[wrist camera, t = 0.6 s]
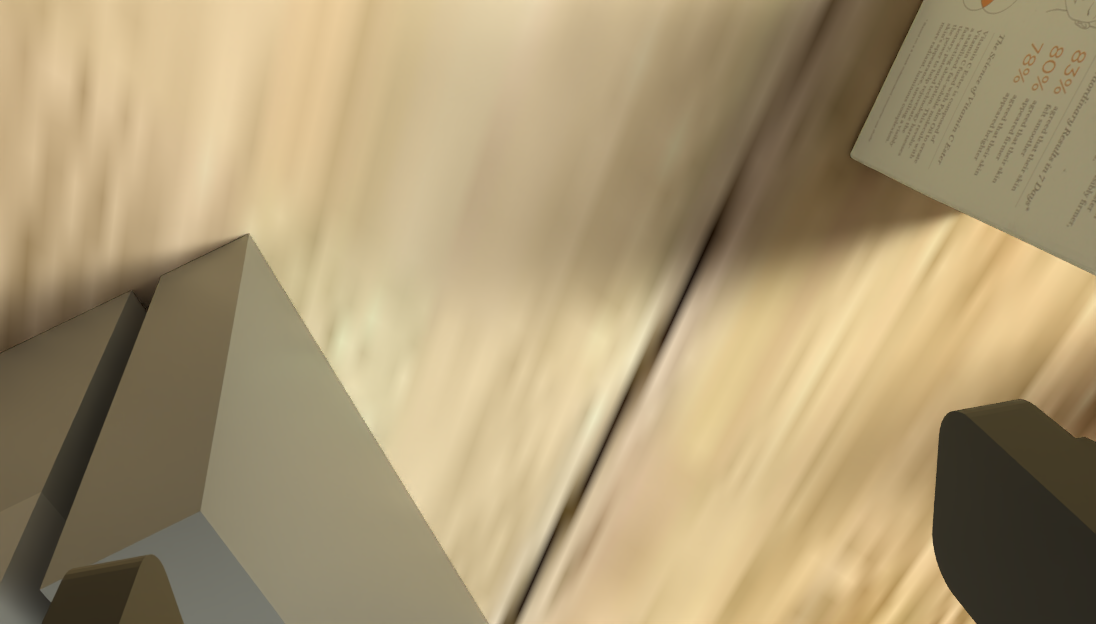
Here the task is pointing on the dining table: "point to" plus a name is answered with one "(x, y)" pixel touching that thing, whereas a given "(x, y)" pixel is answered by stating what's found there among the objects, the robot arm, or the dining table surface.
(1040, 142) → the small box
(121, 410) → the keypad console
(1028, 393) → the dining table surface
